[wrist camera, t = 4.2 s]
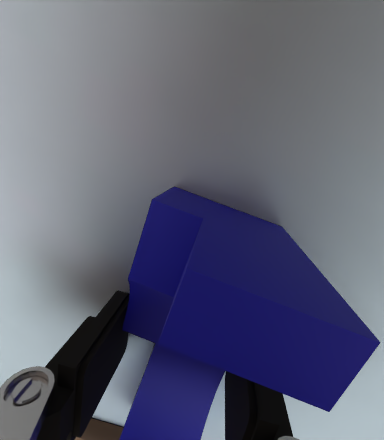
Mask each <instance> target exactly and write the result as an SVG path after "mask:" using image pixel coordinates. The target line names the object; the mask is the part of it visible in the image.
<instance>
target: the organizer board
mask: <svg viewBox="0 0 384 440" xmlns="http://www.w3.org/2000/svg"><path fill="white" fill-rule="evenodd" d="M122 431H123V427H120V426H116V425H113V424H109V423H106V422H103V421H99V420H96V419H92V418H91V420H90V422H89V424H88V426H87V428H86V429H85V431H84V433H83V435H82V436H81V437H80V438H79V437H76V438H75V440H119V439H120V436H121V433H122Z"/></svg>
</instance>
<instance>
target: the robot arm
mask: <svg viewBox="0 0 384 440" xmlns="http://www.w3.org/2000/svg"><path fill="white" fill-rule="evenodd" d="M129 296H130V294H129V293H126V292H121V291H116V293H115V294H114V295H113V296H112V298H111V299H110V300H109V301H108V303H107V304H106V305H105V306H104V307H103V309H102V310H101V311H100V312H99V314H98V315H97V316H96V317H92V316H89V317H88V318H87V319H86V320H85V321H84V322H83V323H82V324H81V326H80V327H79V328H78V329H77V330H76V331H75V333H74V334H73V335H72V336H71V337H70V338H69V340H68V341H67V342H66V343H65V344H64V345H63V347H62V348H61V349H60V350H59V351H58V352H57V354H56V355H55V356H54V357H53V358H52V359H51V361H50V362H49V363H48V364H47V365H46V366H45V367H40V366H36V367H29V368H26V369H23V370H21V371H19V372H17V373H15V374H14V375H12V376H11V377H10V378H9V379H7V380H6V381H5V383H4V384H3V385H2V386H1V387H0V440H75V438H76V437H79V438H80V437H81V436H82V435H83V433H84V431H85V429H86V428H87V426H88V424H89V422H90V420H91V418H92V416H93V414H94V412H95V410H96V408H97V406H98V404H99V402H100V400H101V398H102V396H103V394H104V392H105V390H106V388H107V386H108V384H109V382H110V380H111V378H112V376H113V374H114V373H115V371H116V369H117V367H118V365H119V363H120V361H121V359H122V357H123V355H124V353H125V350H126V347H127V341H128V334H129V332H126V331H124V330H123V323H124V319H125V316H126V312H127V307H128V303H129ZM225 440H299V439H297V438H294V437H293V434H292V430H291V426H290V422H289V418H288V414H287V410H286V406H285V402H284V398H283V394H282V393H280V392H278V391H275V390H273V389H270V388H268V387H265V386H263V385H260V384H258V383H255V382H253V381H250V380H247V379H245V378H242V377H240V376H237V375H235V374H232V373H230V372H227V371H226V375H225Z"/></svg>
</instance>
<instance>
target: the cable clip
mask: <svg viewBox="0 0 384 440" xmlns="http://www.w3.org/2000/svg"><path fill="white" fill-rule="evenodd" d="M128 281H129V284H130V296H129V303H128V307H127V312H126V316H125V319H124V323H123V330H124V331H126V332H129V333H131V334H134V335H136V336H139V337H141V338H144V339H146V340H149V341H151V342H154V343H155V346H154V348H153V351H152V354H151V356H150V359H149V362H148V364H147V367H146V370H145V372H144V375H143V377H142V380H141V383H140V385H139V388H138V391H137V393H136V396H135V399H134V401H133V404H132V407H131V409H130V412H129V415H128V417H127V420H126V423H125V425H124V428H123V431H122V433H121V436H120V439H119V440H201V436H202V432H203V429H204V426H205V422H206V419H207V416H208V413H209V410H210V407H211V404H212V401H213V399H214V396H215V393H216V391H217V388H218V386H219V384H220V381H221V379H222V377H223V375H224V373H225V371H227V372H230V373H232V374H235V375H237V376H240V377H242V378H245V379H247V380H250V381H253V382H255V383H258V384H260V385H263V386H265V387H268V388H270V389H273V390H275V391H278V392H280V393H283V394H285V395H288V396H290V397H293V398H295V399H298V400H300V401H303V402H305V403H308V404H310V405H313V406H315V407H318V408H320V409H323V410H325V411H328V412H330V410H331V409H332V408H333V406H334V405H335V404H336V402H337V401H338V399H339V398H340V397H341V395H342V394H343V393H344V391H345V390H346V389H347V387H348V386H349V385H350V383H351V382H352V380H353V379H354V378H355V376H356V375H357V374H358V372H359V371H360V370H361V368H362V367H363V366H364V364H365V363H366V361H367V360H368V359H369V357H370V356H371V355H372V353H373V352H374V351H375V349H376V348H377V346H378V345H379V344H380V341H379V340H378V339H377V338H376V337H375V336H374V334H373V333H372V332H371V331H370V330H369V328H368V327H367V326H366V325H365V324H364V323H363V321H362V320H361V319H360V318H359V317H358V316H357V314H356V313H355V312H354V311H353V310H352V308H351V307H350V306H349V305H348V304H347V303H346V301H345V300H344V299H343V298H342V297H341V296H340V294H339V293H338V292H337V291H336V290H335V288H334V287H333V286H332V285H331V284H330V283H329V281H328V280H327V279H326V278H325V277H324V276H323V274H322V273H321V272H320V271H319V270H318V269H317V267H316V266H315V265H314V264H313V263H312V261H311V260H310V259H309V258H308V257H307V256H306V254H305V253H304V252H303V251H302V250H301V249H300V247H299V246H298V245H297V244H296V243H295V241H294V240H293V239H292V238H291V237H290V236H289V234H288V233H287V232H286V231H285V230H284V229H283V227H281V226H279V225H276V224H273V223H271V222H268V221H265V220H263V219H260V218H257V217H255V216H252V215H249V214H247V213H244V212H241V211H238V210H236V209H233V208H230V207H228V206H225V205H222V204H220V203H217V202H214V201H212V200H209V199H206V198H204V197H201V196H198V195H195V194H193V193H190V192H187V191H185V190H182V189H179V188H177V187H173V188H171V189H169V190H167V191H166V192H164V193H162V194H160V195H159V196H157V197H155V198H153V199H152V201H151V205H150V208H149V211H148V214H147V218H146V221H145V224H144V228H143V231H142V234H141V238H140V241H139V244H138V247H137V251H136V254H135V257H134V261H133V264H132V267H131V270H130V274H129V277H128Z"/></svg>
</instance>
